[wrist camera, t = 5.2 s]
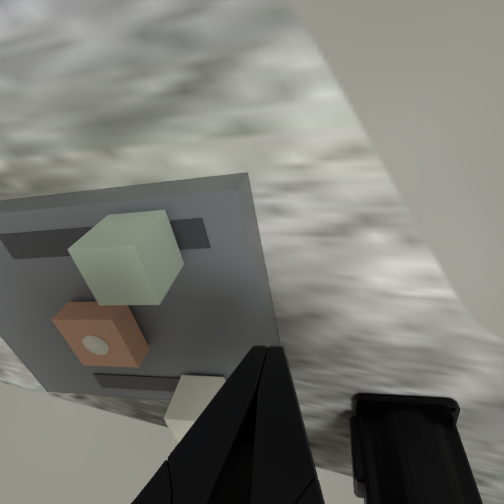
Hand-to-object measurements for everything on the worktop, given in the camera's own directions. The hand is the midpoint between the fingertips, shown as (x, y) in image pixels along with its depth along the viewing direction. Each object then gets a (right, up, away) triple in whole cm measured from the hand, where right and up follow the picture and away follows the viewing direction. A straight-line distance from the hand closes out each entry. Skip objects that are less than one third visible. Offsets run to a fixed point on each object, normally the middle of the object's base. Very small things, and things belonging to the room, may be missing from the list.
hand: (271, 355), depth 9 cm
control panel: (-9, -1, +13) cm, 16 cm away
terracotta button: (-9, -2, +12) cm, 15 cm away
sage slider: (-6, +3, +7) cm, 10 cm away
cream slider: (-4, -7, +13) cm, 15 cm away
